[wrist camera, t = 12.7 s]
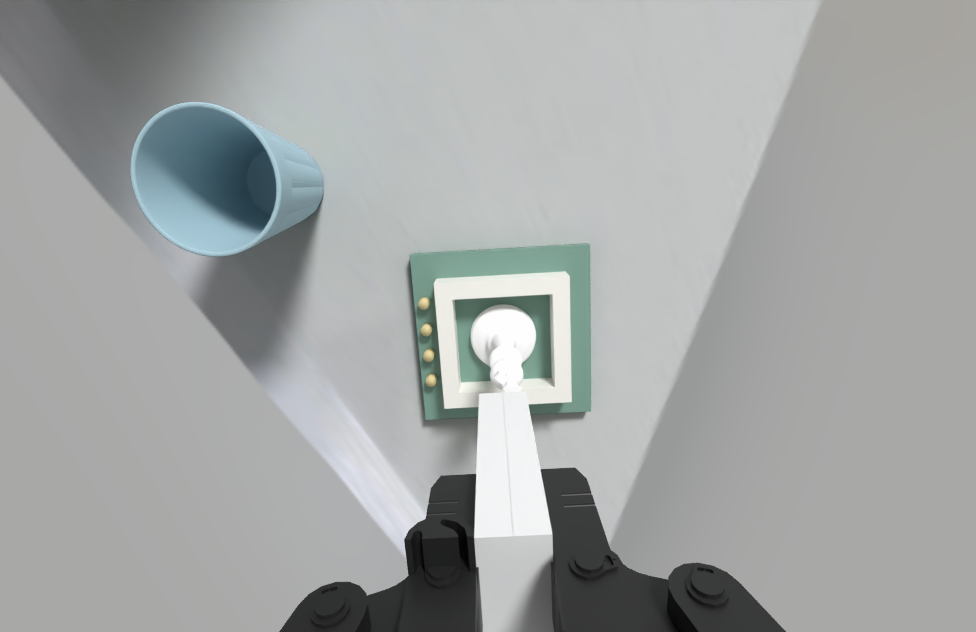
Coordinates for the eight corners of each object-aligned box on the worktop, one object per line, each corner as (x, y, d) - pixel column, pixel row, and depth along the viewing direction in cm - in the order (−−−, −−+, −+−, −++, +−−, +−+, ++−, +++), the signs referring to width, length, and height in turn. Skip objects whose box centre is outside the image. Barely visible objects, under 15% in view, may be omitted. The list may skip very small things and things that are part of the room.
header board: (411, 253, 37) (405, 259, 34) (587, 243, 36) (595, 248, 34) (427, 414, 40) (422, 432, 37) (588, 405, 40) (596, 423, 37)
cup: (355, 222, 36) (301, 235, 26) (257, 250, 37) (168, 273, 27) (318, 114, 34) (246, 83, 24) (216, 145, 35) (104, 128, 25)
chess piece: (506, 379, 38) (512, 444, 28) (457, 339, 37) (445, 393, 28) (549, 332, 37) (570, 384, 27) (499, 290, 36) (503, 328, 27)
